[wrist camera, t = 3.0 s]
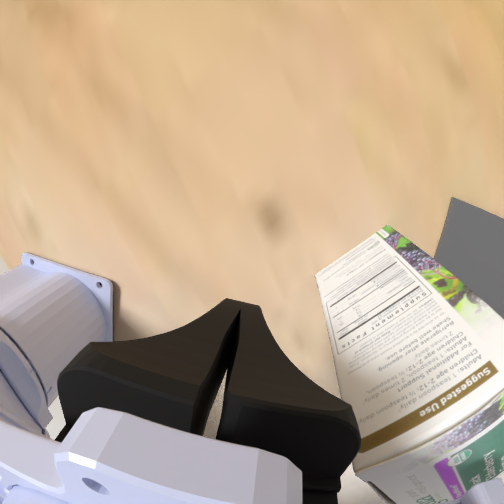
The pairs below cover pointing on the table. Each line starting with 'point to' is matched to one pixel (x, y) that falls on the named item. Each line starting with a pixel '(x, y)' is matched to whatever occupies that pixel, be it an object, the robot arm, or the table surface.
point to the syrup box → (415, 370)
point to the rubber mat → (474, 251)
